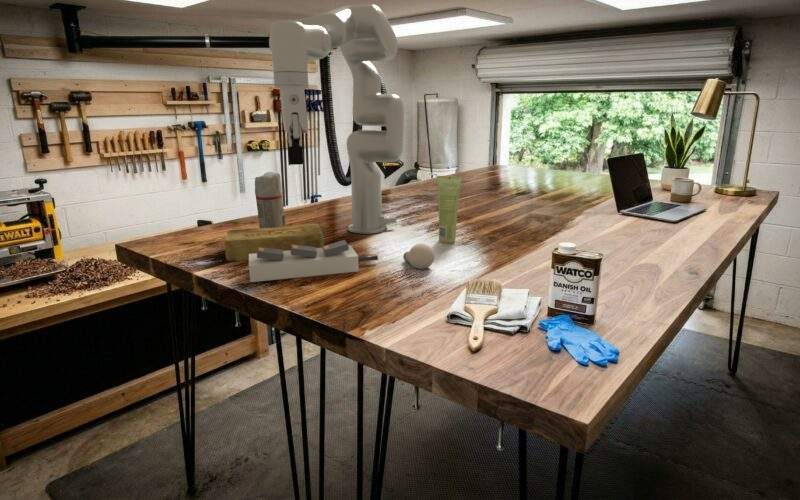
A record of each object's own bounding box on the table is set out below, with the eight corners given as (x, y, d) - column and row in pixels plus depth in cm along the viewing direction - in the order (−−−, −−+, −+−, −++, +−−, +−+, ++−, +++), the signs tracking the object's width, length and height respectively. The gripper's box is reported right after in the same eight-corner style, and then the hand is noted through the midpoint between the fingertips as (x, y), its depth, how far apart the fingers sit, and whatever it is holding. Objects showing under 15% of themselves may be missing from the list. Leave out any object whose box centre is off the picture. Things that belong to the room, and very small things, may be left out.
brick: (228, 253, 146) (225, 229, 145) (319, 244, 153) (318, 222, 151) (225, 264, 134) (222, 238, 132) (325, 254, 140) (324, 229, 139)
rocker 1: (281, 255, 125) (282, 249, 125) (282, 260, 122) (283, 254, 121) (256, 253, 124) (257, 246, 123) (256, 258, 120) (257, 251, 120)
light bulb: (395, 243, 133) (417, 242, 123) (417, 245, 136) (439, 243, 126) (395, 268, 133) (416, 269, 123) (416, 269, 136) (439, 269, 126)
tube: (451, 237, 155) (453, 174, 150) (460, 241, 151) (462, 176, 145) (435, 240, 153) (436, 175, 147) (444, 244, 149) (445, 178, 143)
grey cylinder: (280, 241, 154) (274, 175, 148) (255, 239, 155) (248, 174, 149) (291, 233, 161) (286, 171, 156) (267, 232, 163) (261, 170, 157)
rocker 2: (314, 253, 128) (315, 246, 127) (316, 257, 124) (317, 251, 124) (290, 250, 126) (291, 243, 125) (291, 254, 122) (292, 248, 122)
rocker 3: (346, 245, 129) (344, 239, 129) (349, 249, 126) (347, 243, 125) (323, 252, 128) (321, 246, 128) (325, 256, 125) (323, 250, 124)
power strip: (373, 257, 137) (372, 242, 136) (382, 269, 128) (381, 253, 127) (250, 268, 129) (248, 253, 128) (250, 282, 120) (248, 265, 118)
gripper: (311, 80, 108) (316, 167, 113) (304, 82, 121) (308, 160, 126) (275, 80, 106) (281, 168, 111) (272, 82, 119) (278, 161, 124)
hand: (296, 163), depth 119 cm, fingers closed
